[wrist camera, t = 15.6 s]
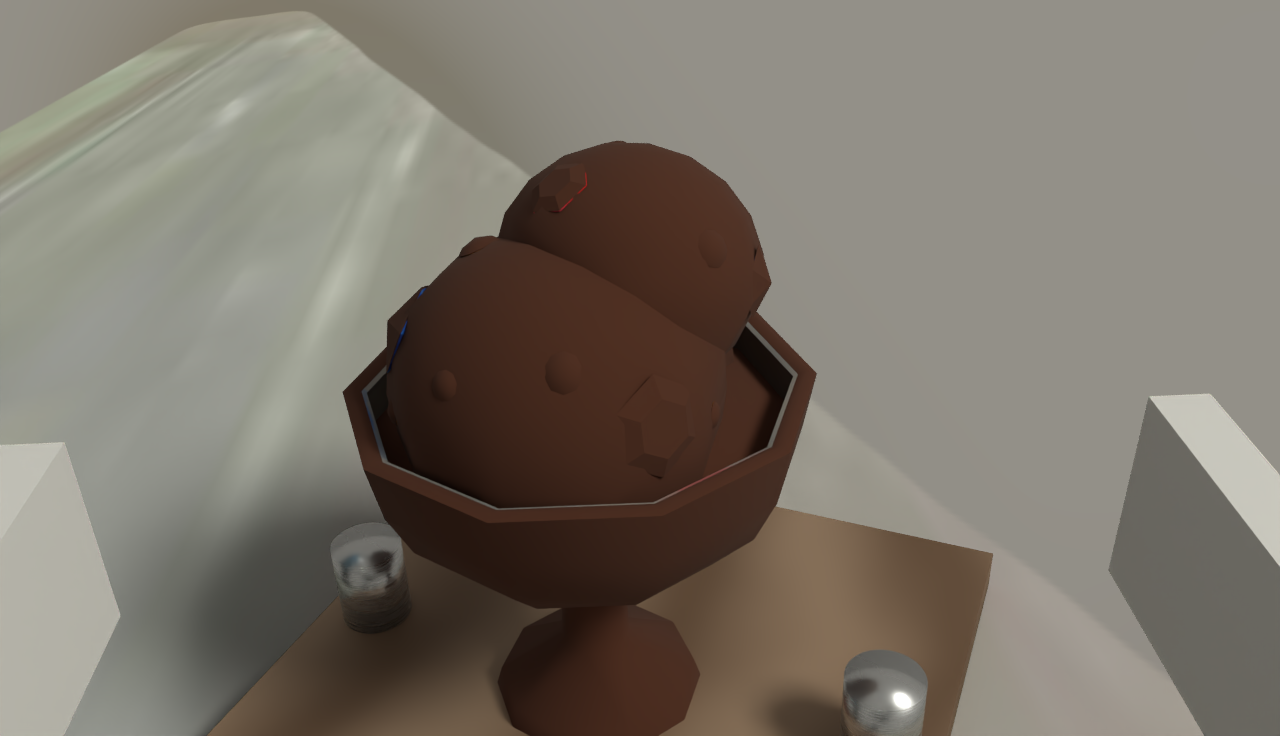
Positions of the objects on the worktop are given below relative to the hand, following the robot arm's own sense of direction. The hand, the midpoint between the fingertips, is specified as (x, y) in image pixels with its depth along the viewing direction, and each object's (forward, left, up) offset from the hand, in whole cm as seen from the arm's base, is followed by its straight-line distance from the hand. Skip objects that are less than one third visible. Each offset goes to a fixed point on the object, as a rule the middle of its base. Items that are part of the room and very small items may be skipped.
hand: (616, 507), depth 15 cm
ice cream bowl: (-6, +11, -15) cm, 19 cm away
